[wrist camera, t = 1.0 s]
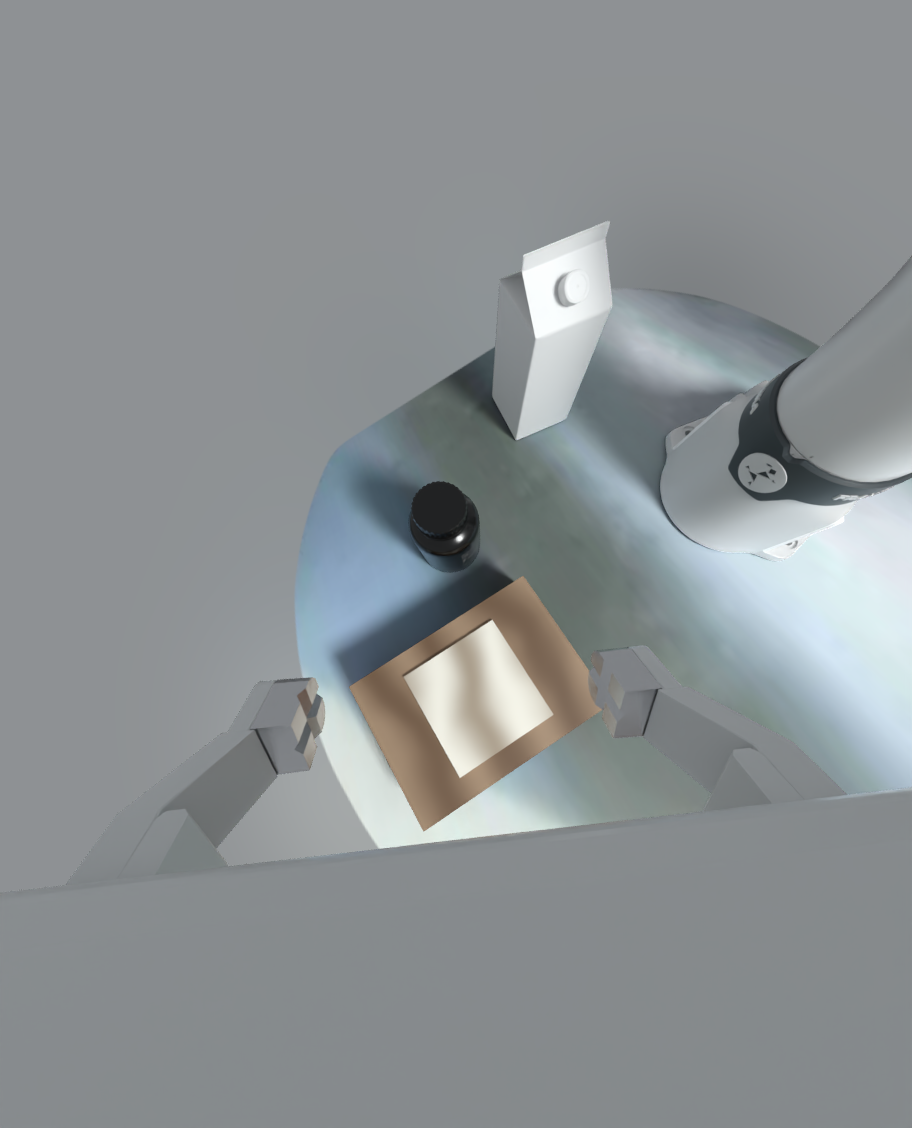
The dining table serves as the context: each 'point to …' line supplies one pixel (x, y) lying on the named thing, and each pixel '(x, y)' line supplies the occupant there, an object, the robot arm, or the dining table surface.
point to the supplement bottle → (445, 526)
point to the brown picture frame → (475, 700)
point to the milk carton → (550, 329)
